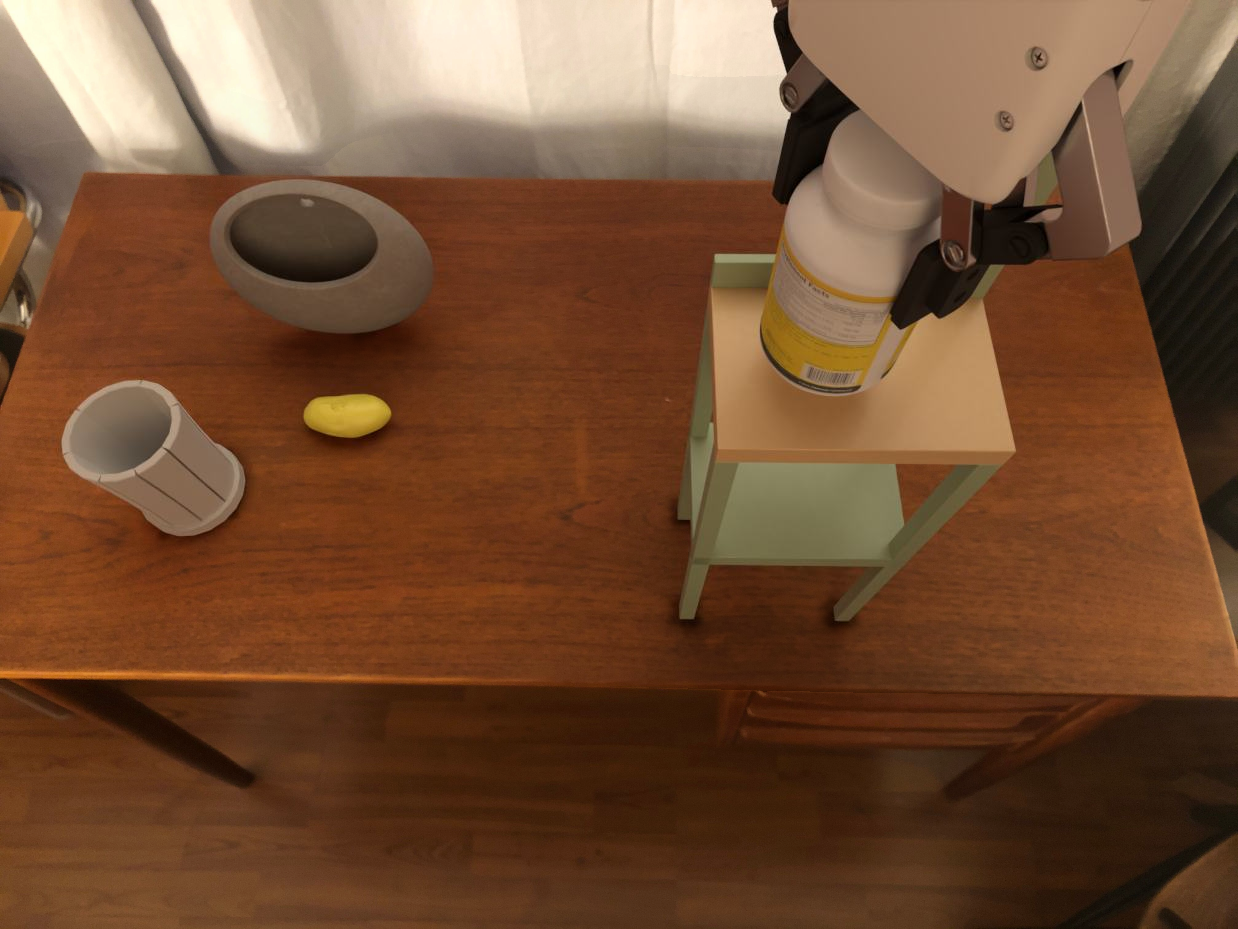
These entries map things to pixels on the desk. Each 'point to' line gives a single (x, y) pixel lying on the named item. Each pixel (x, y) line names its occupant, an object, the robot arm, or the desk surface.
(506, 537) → the desk surface
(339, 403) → the yellow potato
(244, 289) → the planter
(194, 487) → the cup
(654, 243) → the desk surface
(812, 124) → the robot arm
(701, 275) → the desk surface
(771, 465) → the mint side table
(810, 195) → the pill bottle
